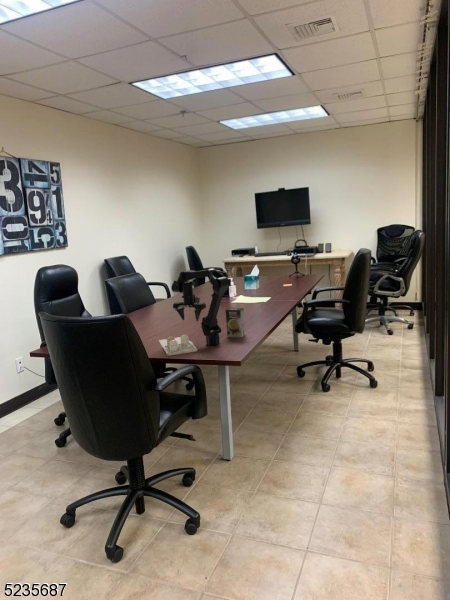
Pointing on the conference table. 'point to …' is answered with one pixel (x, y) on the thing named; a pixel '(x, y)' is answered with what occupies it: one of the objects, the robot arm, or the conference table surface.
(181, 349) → the egg carton
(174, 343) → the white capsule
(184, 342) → the cream egg back
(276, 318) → the conference table surface
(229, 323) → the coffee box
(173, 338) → the brown egg
